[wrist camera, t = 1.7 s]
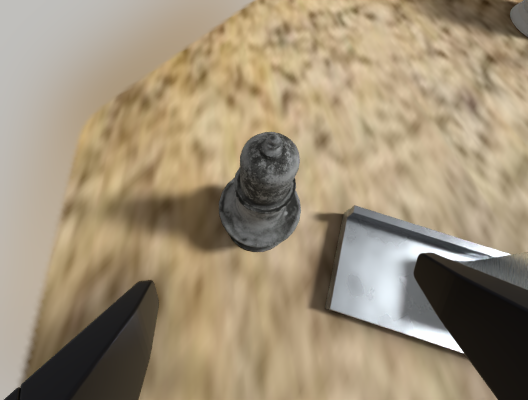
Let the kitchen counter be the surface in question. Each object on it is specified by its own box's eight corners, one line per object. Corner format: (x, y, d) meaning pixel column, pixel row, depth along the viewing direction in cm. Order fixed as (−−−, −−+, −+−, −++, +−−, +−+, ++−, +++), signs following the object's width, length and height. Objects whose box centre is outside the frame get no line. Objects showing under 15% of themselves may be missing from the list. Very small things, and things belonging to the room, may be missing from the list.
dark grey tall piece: (207, 215, 21) (170, 123, 10) (261, 176, 23) (280, 61, 12) (252, 271, 20) (267, 236, 9) (305, 225, 22) (374, 147, 10)
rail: (585, 394, 19) (838, 464, 11) (325, 308, 19) (382, 315, 11) (568, 284, 22) (757, 277, 14) (343, 213, 22) (399, 167, 14)
